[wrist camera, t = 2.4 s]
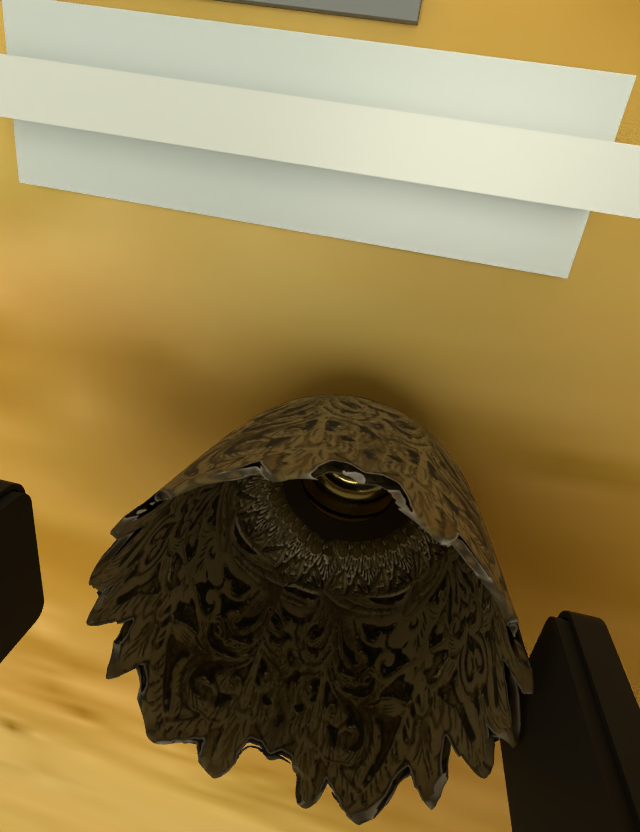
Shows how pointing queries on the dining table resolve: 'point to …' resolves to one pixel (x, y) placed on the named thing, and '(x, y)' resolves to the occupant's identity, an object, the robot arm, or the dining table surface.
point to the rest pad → (351, 8)
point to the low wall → (318, 132)
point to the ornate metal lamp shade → (319, 606)
